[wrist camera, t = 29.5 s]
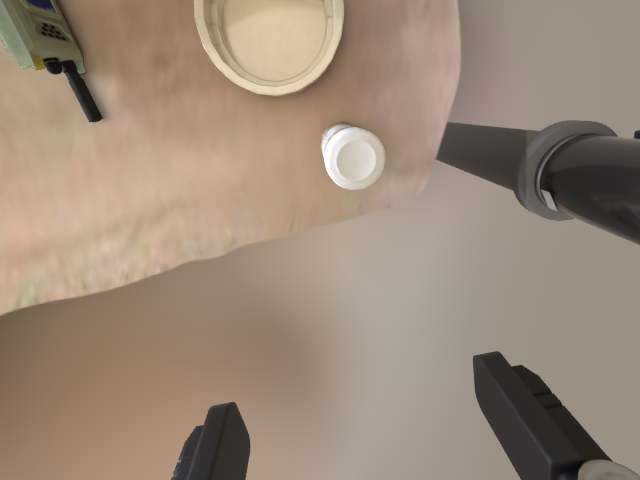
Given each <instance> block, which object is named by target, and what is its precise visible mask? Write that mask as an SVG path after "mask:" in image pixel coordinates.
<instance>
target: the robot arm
mask: <svg viewBox="0 0 640 480" xmlns="http://www.w3.org/2000/svg"><path fill="white" fill-rule="evenodd" d="M534 187H535V192H536V195H537V197H538V199H539V200H540V202H541V203H542V204H543V205H545V206H546V207H548V208H550V209H552V210H554V211H557V212H561V213H564V214H566V215H569V216H571V217H573V218H576V219H578V220H581V221H583V222H585V223H588V224H590V225H593V226H595V227H597V228H600V229H602V230H605V231H607V232H610V233H612V234H614V235H617V236H619V237H622V238H624V239H626V240H629V241H631V242H634V243H636V244H639V245H640V130H639V131H635V135H634V138H624V137H615V136H605V135H599V134H593V133H578V134H574V135H571V136H568V137H566V138H564V139H562V140H560V141H559V142H557V143H556V144H555V145H553V146H552V147H551V148H550V149H549V150H548V151H547V152H546V154H545V155H544V156H543V158H542V159H541V161H540V163H539V165H538V167H537V170H536V173H535V178H534ZM473 368H474V383H475V393H476V397H477V400H478V403H479V406H480V408H481V410H482V412H483V414H484V415H485V417H486V419H487V421H488V423H489V424H490V426H491V428H492V430H493V431H494V433H495V435H496V437H497V438H498V440H499V442H500V443H501V445H502V447H503V449H504V451H505V452H506V454H507V456H508V458H509V459H510V461H511V463H512V465H513V466H514V468H515V470H516V472H517V473H518V475H519V476H520V479H521V480H640V476H639V475H638V474H637V473H635V472H634V471H632V470H630V469H628V468H627V467H625V466H623V465H620V464H618V463H615V462H613V461H612V460H611V459H610V458H609V457H608V456H607V455H606V454H605V453H604V452H603V450H602V449H601V448H600V447H599V446H598V445H597V443H596V442H595V441H594V440H593V439H592V438H591V437H590V435H589V434H588V433H587V432H586V431H585V430H584V429H583V427H582V426H581V425H580V424H579V422H578V421H577V420H576V419H575V418H574V417H573V416H572V414H571V413H570V412H569V411H568V410H567V409H566V408H565V406H563V405H562V403H561V402H560V400H559V399H558V398H557V397H556V396H555V395H554V393H553V394H552V392H551V390H550V389H549V388H548V386H547V385H546V384H545V383H544V382H543V381H542V379H541V378H540V377H539V376H538V375H536V374H535V373H533V372H531V371H530V370H528V369H527V368H525V367H524V366H522V365H518V366H513V367H511V366H510V364H509V363H508V362H507V361H506V359H505V358H504V357H503V355H502V354H501V353H500V352H498V351H496V352H491V353H485V354H480V355H475V356H474V357H473ZM249 455H250V438H249V434H248V431H247V429H246V426H245V424H244V421H243V419H242V417H241V415H240V412H239V410H238V408H237V405H236V403H235V402H230V403H225V404H220V405H215V406H212V407H210V409H209V411H208V414H207V417H206V420H205V423H204V425H202V426H197V427H196V428H195V429H194V430H193V432H192V433H191V435H190V436H189V437H188V439H187V440H186V442H185V444H184V446H183V449H182V452H181V454H180V457H179V463H177V465H176V468H175V471H174V473H173V474H174V476H173V477H172V479H171V480H245V478H246V473H247V467H248V460H249Z"/></svg>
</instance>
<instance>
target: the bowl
mask: <svg viewBox="0 0 640 480" xmlns="http://www.w3.org/2000/svg"><path fill="white" fill-rule="evenodd" d="M194 18H195V22H196V26H197V29H198V32H199V35H200V39H201V42H202V45H203V47H204V49H205V50H206V52H207V53H208V55H209V56H210V58H211V60H212V61H213V63H214V64H215V66H216V67H217V68H218V69H219V70H220V71H221V72H222V73H223V74H224V75H225V76H226V77H228V78H229V79H230V80H231V81H232V82H233V83H234V84H236V85H238V86H240V87H242V88H245V89H247V90H249V91H251V92H253V93H256V94H259V95H263V96H273V97H285V96H289V95H293V94H297V93H300V92H302V91H304V90H305V89H307V88H308V87H310V86H311V85H313V84H314V83H316V82H317V81H318V80H319V78H320V77H321V76H322V75H323V73H324V72H325V71H326V70H327V68H328V67H329V66H330V64H331V62H332V60H333V57H334V55H335V52H336V50H337V47H338V45H339V42H340V40H341V36H342V30H343V20H344V3H343V0H194Z"/></svg>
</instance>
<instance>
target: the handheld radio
mask: <svg viewBox="0 0 640 480" xmlns="http://www.w3.org/2000/svg"><path fill="white" fill-rule="evenodd" d="M0 39H1V41H2V43H3V45H4V46H5V48H6V50H7V52H8V53H9V54H10V55H11V56H12V57H15V59H16V60H17V61H18V63H19V64H20V66H21V67H22V69H26V68H29V67H32V66H33V68H34V69H35V70H42V69H45V67H46V69H47V70H48V71H49V72H50V73H52V74H60V73H61V72H62V70H63V72H64V73H65V74H66V76H67V78H68V80H69V83H70V85H71V87H72V89H73V91H74V93H75V95H76V97H77V99H78V101H79V103H80V105H81V107H82V109H83V111H84V113H85V114H86V116H87V118H88V120H89V122H98V121H100V120H101V119H103V118H102V116H101V114H100V112H99V110H98V108H97V106H96V104H95V102H94V100H93V98H92V96H91V94H90V92H89V90H88V88H87V86H86V84H85V82H84V80H83V79H81V77H80V74H83V73H86V72H87V71H86V69H85V66H84V64H83V57H82V54H81V52H80V50H79V48H78V46H77V44H76V42H75V40H74V38H73V36H72V34H71V31H70V29H69V27H68V25H67V23H66V21H65V19H64V17H63V15H62V13H61V11H60V9H59V7H58V5H57V3H56V1H55V0H0ZM45 62H46V64H45Z"/></svg>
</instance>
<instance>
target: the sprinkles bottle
mask: <svg viewBox="0 0 640 480" xmlns="http://www.w3.org/2000/svg"><path fill="white" fill-rule="evenodd" d="M321 151H322V153H323V156H324V161H325V166H326V169H327V172H328V174H329V176H330V177H331V179H332V180H333V181H334V182H335V183H336V184H337V185H339V186H341V187H343V188H345V189H350V190H359V189H363V188H366V187H368V186H370V185H372V184H373V183H374V182H375V181H376V180H377V179H378V178H379V177H380V175H381V174H382V172H383V169H384V166H385V161H386V155H385V150H384V147H383V144H382V143H381V141H380V140H379V138H378V137H377V136H376V135H374V134H373V133H372V132H370V131H368V130H366V129H363V128H359V127H353V126H351V125H349V124H347V123H336V124H333V125H331V126H329V127H328V128H327V129H326V130H325V132H324V133H323V135H322V138H321Z"/></svg>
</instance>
